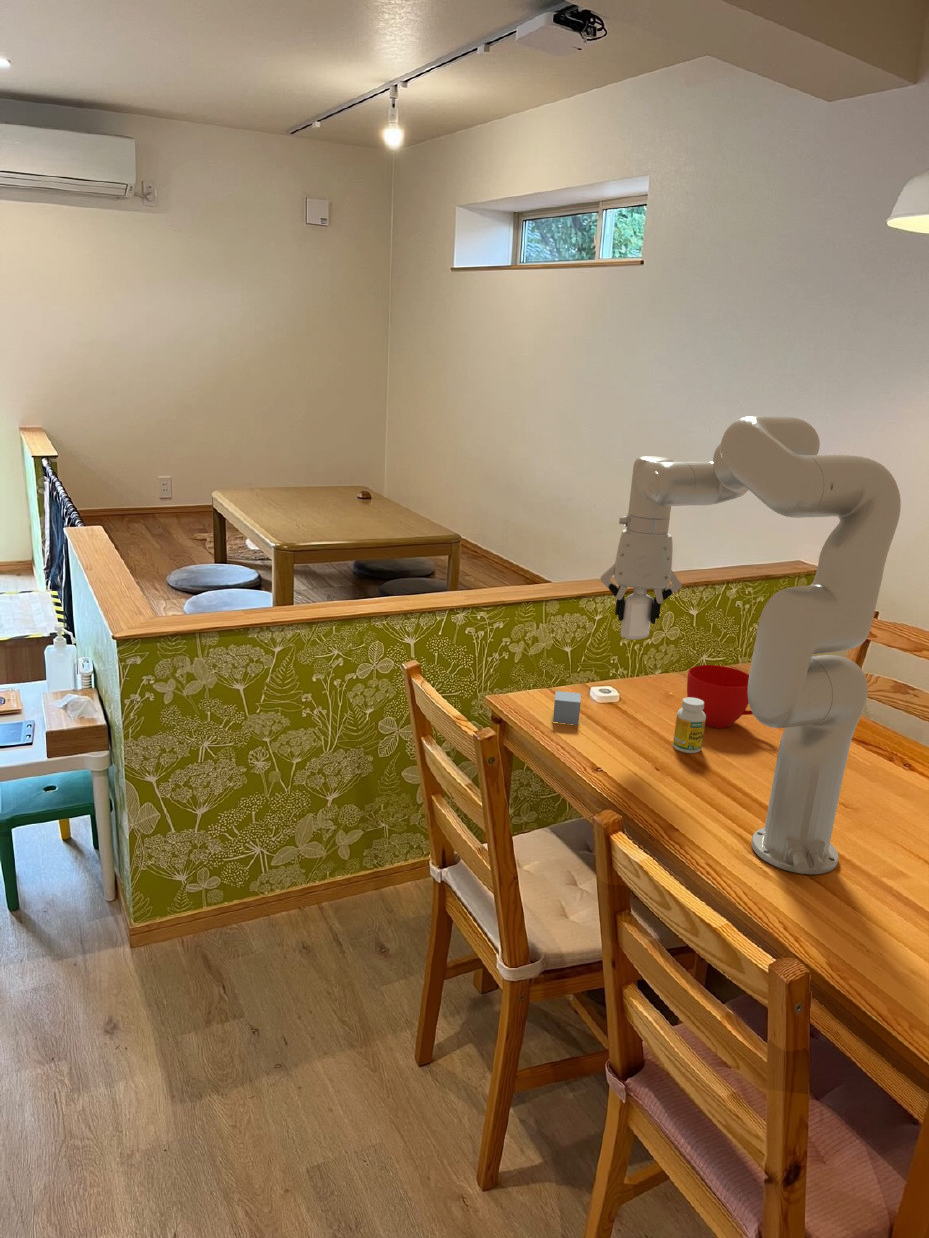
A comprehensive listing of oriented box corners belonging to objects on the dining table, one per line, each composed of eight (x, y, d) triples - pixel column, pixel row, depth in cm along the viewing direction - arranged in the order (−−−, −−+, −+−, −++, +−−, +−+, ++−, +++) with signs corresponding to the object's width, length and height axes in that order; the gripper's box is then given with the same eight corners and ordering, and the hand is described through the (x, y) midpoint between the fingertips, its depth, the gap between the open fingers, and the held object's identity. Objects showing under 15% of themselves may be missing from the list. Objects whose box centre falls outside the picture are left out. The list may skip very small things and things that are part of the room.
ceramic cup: (756, 745, 183) (764, 697, 180) (672, 723, 192) (679, 676, 189) (773, 725, 194) (781, 679, 191) (693, 704, 202) (700, 660, 199)
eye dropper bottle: (651, 641, 177) (659, 578, 174) (622, 639, 177) (629, 577, 174) (646, 633, 181) (654, 573, 178) (617, 632, 181) (624, 571, 178)
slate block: (578, 726, 187) (580, 702, 186) (552, 723, 188) (555, 699, 186) (578, 716, 192) (580, 693, 191) (553, 713, 192) (555, 690, 191)
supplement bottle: (686, 740, 184) (693, 693, 181) (707, 750, 180) (714, 703, 177) (666, 745, 181) (673, 698, 178) (687, 756, 177) (694, 708, 174)
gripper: (601, 525, 170) (591, 621, 175) (697, 533, 169) (684, 630, 174) (599, 517, 177) (590, 611, 183) (692, 525, 176) (680, 619, 181)
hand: (636, 619), depth 178 cm, fingers closed on eye dropper bottle, 5 cm apart
